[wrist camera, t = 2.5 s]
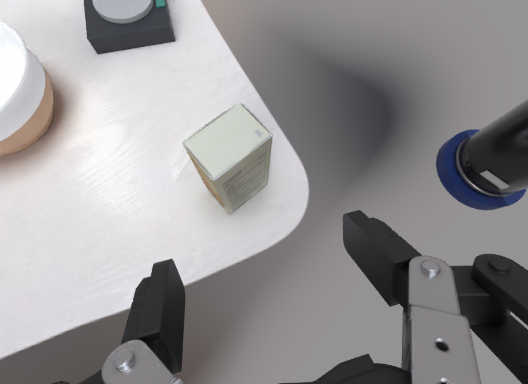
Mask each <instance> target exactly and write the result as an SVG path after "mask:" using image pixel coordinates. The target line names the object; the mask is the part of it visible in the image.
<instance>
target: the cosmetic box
mask: <svg viewBox="0 0 528 384" xmlns="http://www.w3.org/2000/svg"><path fill="white" fill-rule="evenodd" d="M271 145H272V133H271V132H270V131H269V130H268V129H267V128H266V127H265V126H264V125H263V124H262V123H261V122H260V121H259V120H258V119H257V118H256V116H255V115H254V114H253V113H252V112H251V111H250V110H249V109H248V108H246V107H245V106H244V105H243V104H242V103H241V102H239V103H237V104H235V105H234V106H232V107H231V108H229V109H227V110H226V111H225V112H223V113H222V114H220V115H219V116H217V117H216V118H215V119H213V120H212V121H210V122H209V123H208V124H206V125H205V126H203V127H202V128H201V129H199V130H198V131H197V132H195V133H194V134H193V135H191V136H190V137H189V138H188V139H186V140H185V141H184V142H183V146H184V147H185V149H186V151H187V153H188V154H189V156H190V158H191V160H192V162H193V163H194V165H195V167H196V169H197V171H198V172H199V174H200V176H201V178H202V180H203V181H204V183H205V185H206V187H207V189H208V190H209V192H210V193H211V194H212V195H213V197H214V198H215V199H216V200H217V202H218V203H219V204H220V205H221V206H222V208H223V209H224V210H225V211H226V212H227V213H228V214H231V213H233V212H234V211H235V210H237V209H238V208H239V207H240V206H242V205H243V204H244V203H245V202H247V201H248V200H249V199H250V198H251V197H253V196H254V195H255V194H256V193H257V192H259V191H260V190H261V189H262V188H263V187H264V186H265V185H266V184H267V181H268V172H269V163H270V154H271Z"/></svg>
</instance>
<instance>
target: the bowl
mask: <svg viewBox="0 0 528 384" xmlns="http://www.w3.org/2000/svg"><path fill="white" fill-rule="evenodd" d="M53 100H54V98H53V89H52V84H51V81H50V78H49V75H48V73H47V72H46V70H45V69H44V68H43V66H42V64H41V63H40V61H39V60H38V59H37V57H36V56H35V55H34V54H33V53H32V52H31V51H30V50H28V49H27V47H26V44H25V42H24V40H23V39H22V37H21V36H20V35H19V33H18V32H17V31H15V30H14V29H13V28H12V27H10V26H9V25H7V24H5V23H3V22H1V21H0V155H7V154H12V153H16V152H18V151H21V150H23V149H25V148H27V147H29V146H30V145H32V144H33V143H35V142H36V141H37V140H38V139H40V138H41V136H42V135H43V134H44V133H45V132H46V130H47V129H48V127H49V126H50V123H51V121H52V118H53V112H54V109H53Z"/></svg>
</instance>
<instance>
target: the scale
mask: <svg viewBox="0 0 528 384" xmlns="http://www.w3.org/2000/svg"><path fill="white" fill-rule="evenodd" d="M84 8H85V19H86V30H87V39H88V40H89V42H90V43H91V45H92V46H93V48H94V49H95V51H96V52H97V54H100V53H106V52H112V51H118V50H124V49H130V48H136V47H142V46H148V45H154V44H160V43H166V42H172V41H175V37H174V32H173V28H172V23H171V18H170V14H169V9H168V4H167V0H84Z"/></svg>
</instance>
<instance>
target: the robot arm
mask: <svg viewBox="0 0 528 384" xmlns="http://www.w3.org/2000/svg"><path fill="white" fill-rule="evenodd" d="M454 166H455V169H456V171H457V174H458V175H459V177H460V178H461V180H462V181H463V182H464V183H465V184H466V185H467V186H468V187H469V188H470V189H472V190H473V191H475V192H476V193H478V194H481V195H483V196H486V197H491V198H501V197H505V196H508V195H511V194H513V193H515V192H517V191H520V190H523V189H526V188H528V99H527V100H526V101H524V102H523V103H521V104H520V105H518V106H517V107H515V108H514V109H512V110H511V111H509V112H508V113H506V114H504V115H503V116H501V117H500V118H498V119H497V120H495V121H494V122H492V123H491V124H489V125H488V126H486V127H485V128H483V129H481V130H480V131H478V132H477V133H475V134H474V135H472V136H470V137H468V138H466V139H465V140H463V141H462V142H461V143H460V144H459V145H458V146H457V148H456V150H455V152H454ZM343 241H344V246H345V248H346V250H347V252H348V254H349V255H350V256H351V258H352V259H353V260H354V261H355V263H356V264H357V265H358V267H359V268H360V269H361V270H362V272H363V273H364V274H365V275H366V277H367V278H368V279H369V281H370V282H371V283H372V284H373V286H374V287H375V288H376V289H377V291H378V292H379V293H380V295H381V296H382V297H383V299H384V300H385V301H386V302H387V304H388V305H389V306H390V307H391V306H393V305H397V304H400V305H401V306H402V307H403V308H404V309H403V334H402V364H401V368H398V367H395V366H392V365H387V364H378V363H373V361H372V359H371V358H370V356H369V354H366V355H363V356H360V357H357V358H354V359H351V360H348V361H345V362H342V363H340V364H338V365H337V366H335V367H334V368H333V369H331V370H330V371H328V372H327V373H326V374H325V375H323V376H322V377H320V378H319V379H317V380H316V381H314V382H304V383H280V384H481V380H480V375H479V370H478V365H477V360H476V355H475V350H474V345H473V341H472V336H471V331H470V328H471V329H472V331H473V332H474V333H475V334H476V335H477V336H478V337H479V338H480V339H481V340H482V341H483V342H484V343H485V344H486V346H487V347H488V348H489V349H490V350H491V351H492V352H493V353H494V354H495V355H496V356H497V357H498V358H499V359H500V360H501V361H502V363H503V364H504V365H505V366H506V367H507V368H508V369H509V370H510V371H511V372H512V373H513V374H514V375H515V376H516V377H517V379H518V380H520V382H521V383H522V384H528V330H527V329H526V328H525V327H524V326H523V325H522V324H521V323H519V322H518V321H517V320H516V319H515V318H514V317H513V316H511V315H510V312H512V313H514V314H515V315H516V316H517V317H519V319H521V320H522V321H523V322H524V323H525V324H526V325H527V326H528V270H526V269H525V268H523V267H522V266H520V265H519V264H518V263H516V262H514V261H513V260H511V259H509V258H506V257H503V256H499V255H495V254H482V255H479V256H477V257H476V258H475V260H474V263H473V266H449V265H448V264H447V263H446V262H444V261H442V260H441V259H438V258H435V257H432V256H422V255H421V254H420V253H419V252H418V251H416V250H415V249H414V248H413V247H412V246H411V245H410V244H408V243H407V242H406V241H405V240H404V239H403V238H402V237H400V236H398V234H397V233H396V232H394V231H392V229H391V228H390V227H389V226H388V225H387V224H385V223H384V222H382V221H380V220H378V219H375V218H368V217H367V216H366V215H365V214H364V213H363V212H362V211H360V210H358V211H354V212H350V213H346V214H344V215H343ZM184 313H185V290H184V286H183V283H182V280H181V278H180V275H179V273H178V270H177V268H176V265H175V263H174V261H173V259H169V260H165V261H161V262H157V263H154V265H153V268H152V273H151V277H147V278H143V280H142V281H141V283H140V284H139V285H138V287H137V288H136V291H135V294H134V298H133V302H132V305H131V311H130V313H129V317H128V320H127V324H126V327H125V332H124V335H123V339H122V342H121V345H120V346H119V347H118V348H116V349H115V350H114V351H113V352H112V353H111V354H110V355H109V357H108V358H107V359H106V361H105V363H104V365H103V368H102V370H100V371H99V372H97V373H96V374H94V375H92V376H91V377H89V378H87V379H86V380H84V381H82V382H80V383H79V384H184V383H183V382H182V381H181V380H180V379H179V378H175V377H174V376H173V375H172V374H174V373H178V372H180V371H181V368H182V351H183V331H184ZM53 384H69V383H68V382H65V381H60V382H56V383H53Z"/></svg>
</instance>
